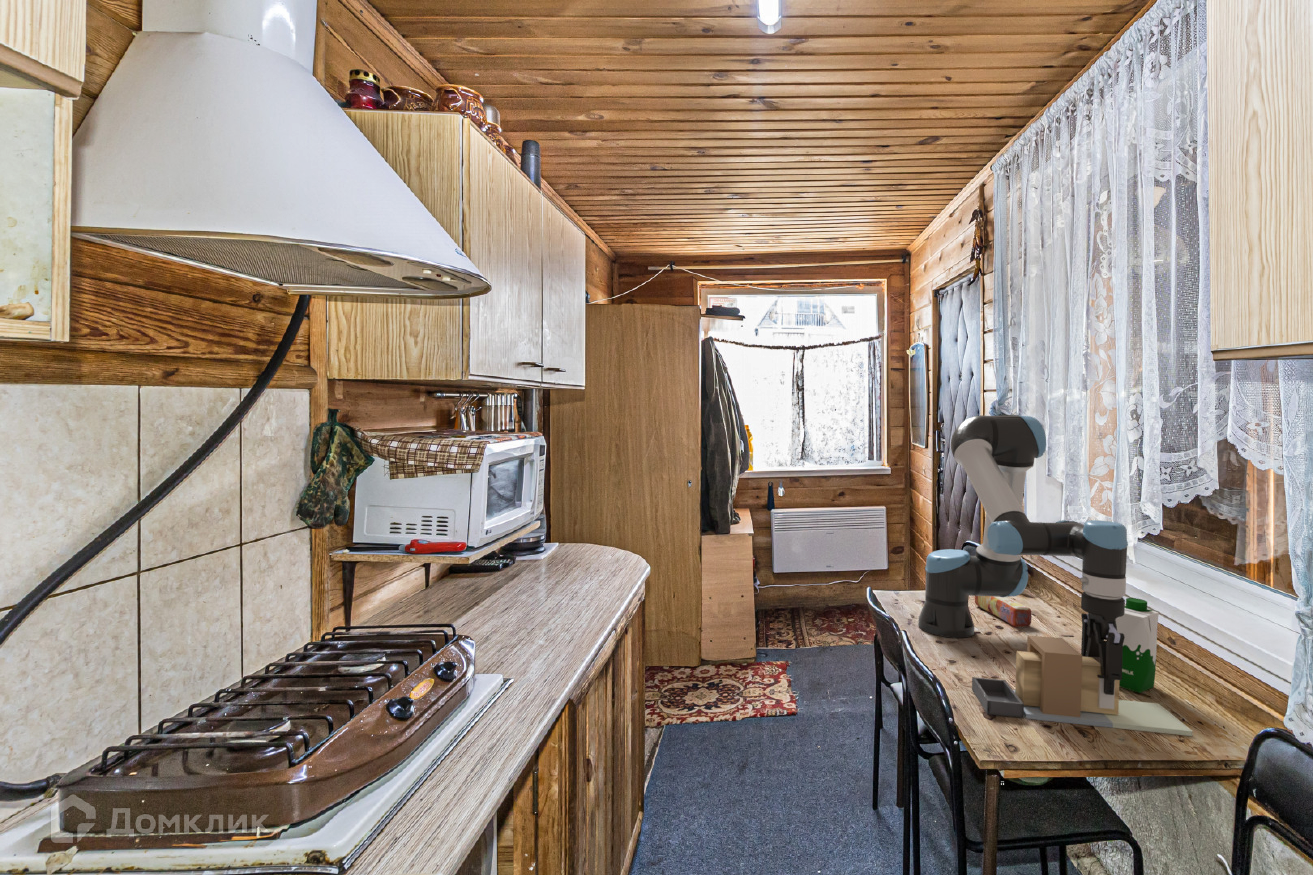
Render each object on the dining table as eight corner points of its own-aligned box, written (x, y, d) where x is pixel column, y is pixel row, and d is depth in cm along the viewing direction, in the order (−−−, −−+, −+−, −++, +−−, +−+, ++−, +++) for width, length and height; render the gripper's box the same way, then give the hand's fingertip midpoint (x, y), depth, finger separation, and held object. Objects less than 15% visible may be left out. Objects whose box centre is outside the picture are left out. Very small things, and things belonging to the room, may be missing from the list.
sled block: (1015, 694, 137) (1016, 649, 137) (1106, 703, 133) (1108, 657, 133) (1023, 704, 132) (1024, 658, 132) (1118, 714, 128) (1120, 666, 128)
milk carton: (1160, 687, 144) (1163, 603, 143) (1141, 696, 140) (1145, 609, 139) (1117, 673, 152) (1120, 594, 151) (1098, 681, 147) (1101, 599, 146)
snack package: (1033, 628, 184) (1034, 606, 184) (1012, 628, 184) (1013, 606, 184) (992, 605, 205) (992, 586, 205) (972, 606, 205) (973, 586, 205)
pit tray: (971, 689, 142) (972, 677, 142) (1004, 692, 141) (1005, 680, 141) (987, 714, 131) (987, 700, 131) (1023, 718, 129) (1024, 704, 129)
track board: (1007, 693, 141) (1009, 632, 140) (1158, 707, 134) (1160, 644, 133) (1026, 718, 129) (1028, 652, 128) (1192, 736, 122) (1195, 666, 122)
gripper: (1065, 581, 140) (1062, 681, 141) (1103, 605, 122) (1099, 719, 123) (1102, 583, 138) (1099, 684, 139) (1146, 608, 121) (1142, 724, 121)
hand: (1099, 701), depth 131 cm, fingers closed on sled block, 5 cm apart
